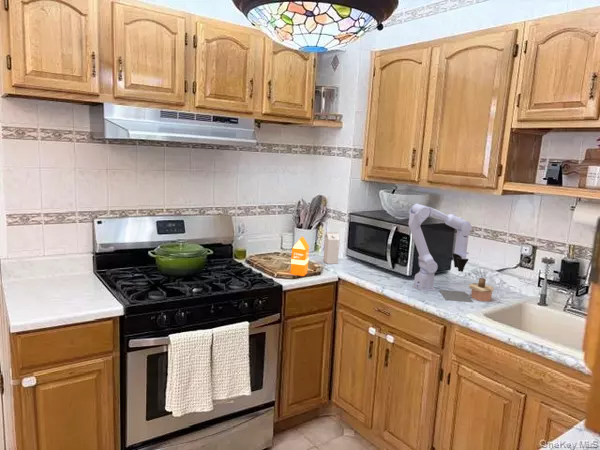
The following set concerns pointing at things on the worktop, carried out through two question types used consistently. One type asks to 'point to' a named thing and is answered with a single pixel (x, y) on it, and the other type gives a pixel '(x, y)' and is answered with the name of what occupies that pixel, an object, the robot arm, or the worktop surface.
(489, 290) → the lid
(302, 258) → the orange juice
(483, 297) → the bowl
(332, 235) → the milk carton
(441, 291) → the mat
